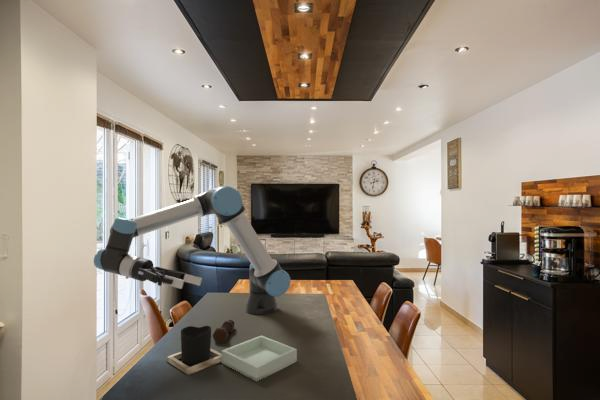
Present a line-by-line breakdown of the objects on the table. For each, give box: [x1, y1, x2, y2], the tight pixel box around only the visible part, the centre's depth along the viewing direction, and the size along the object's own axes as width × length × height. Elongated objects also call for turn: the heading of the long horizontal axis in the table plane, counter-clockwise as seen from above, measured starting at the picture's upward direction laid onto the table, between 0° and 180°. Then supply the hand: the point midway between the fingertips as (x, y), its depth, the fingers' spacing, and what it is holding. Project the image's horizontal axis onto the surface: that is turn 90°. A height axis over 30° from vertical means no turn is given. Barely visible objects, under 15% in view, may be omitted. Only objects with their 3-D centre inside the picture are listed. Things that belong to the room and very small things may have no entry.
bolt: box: [211, 319, 235, 344], centre depth 132 cm, size 6×5×15 cm
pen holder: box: [180, 325, 212, 367], centre depth 110 cm, size 9×9×10 cm
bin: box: [220, 335, 298, 382], centre depth 109 cm, size 17×17×4 cm
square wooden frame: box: [166, 347, 222, 376], centre depth 110 cm, size 13×13×2 cm
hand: (192, 283), depth 115 cm, fingers open, 13 cm apart
